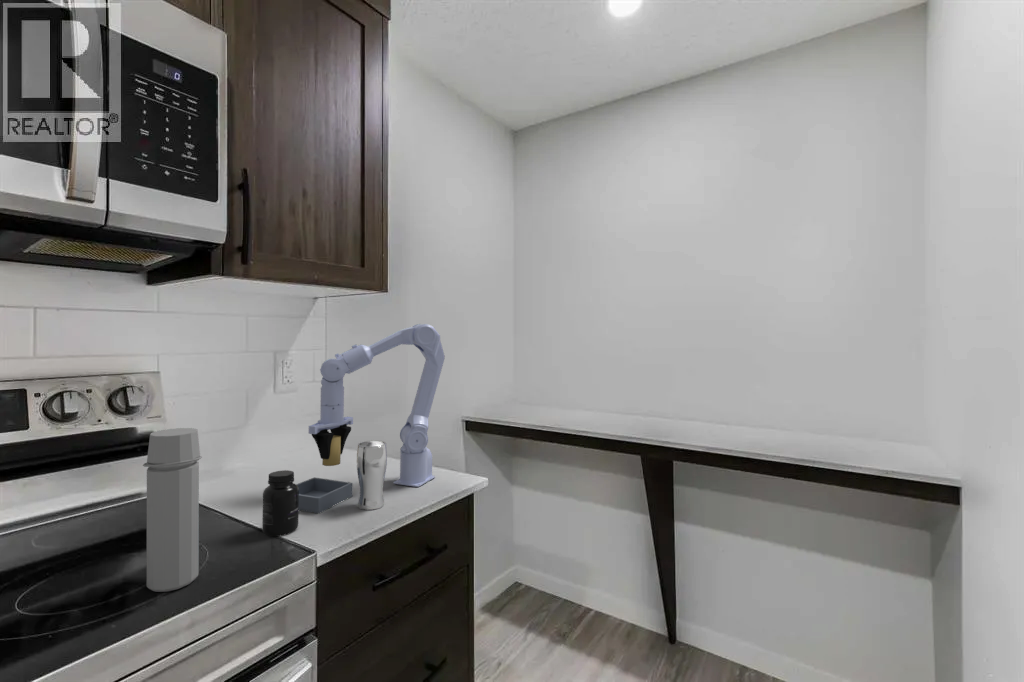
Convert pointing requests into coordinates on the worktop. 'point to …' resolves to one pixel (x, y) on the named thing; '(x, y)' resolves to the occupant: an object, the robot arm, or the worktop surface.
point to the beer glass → (371, 473)
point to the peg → (334, 452)
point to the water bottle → (172, 509)
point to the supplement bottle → (280, 504)
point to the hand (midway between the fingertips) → (331, 456)
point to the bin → (322, 494)
